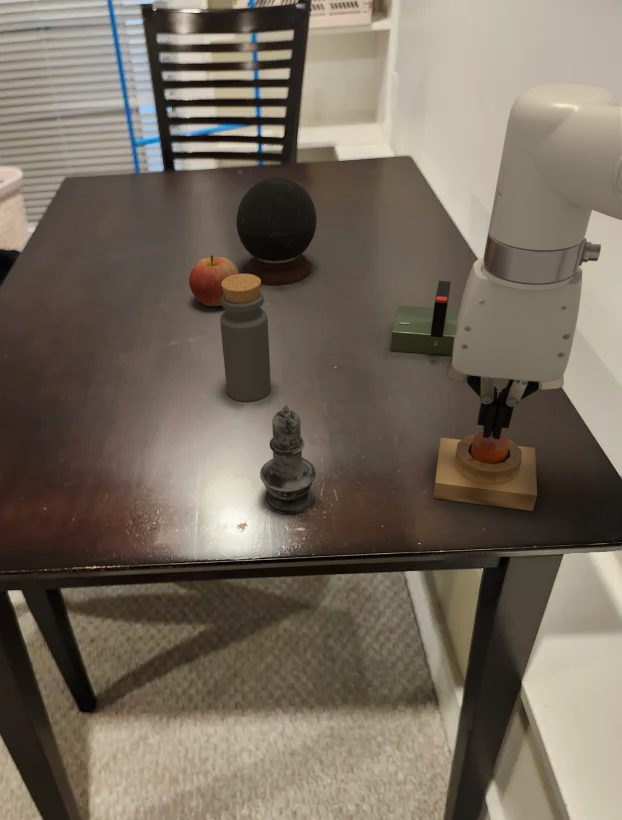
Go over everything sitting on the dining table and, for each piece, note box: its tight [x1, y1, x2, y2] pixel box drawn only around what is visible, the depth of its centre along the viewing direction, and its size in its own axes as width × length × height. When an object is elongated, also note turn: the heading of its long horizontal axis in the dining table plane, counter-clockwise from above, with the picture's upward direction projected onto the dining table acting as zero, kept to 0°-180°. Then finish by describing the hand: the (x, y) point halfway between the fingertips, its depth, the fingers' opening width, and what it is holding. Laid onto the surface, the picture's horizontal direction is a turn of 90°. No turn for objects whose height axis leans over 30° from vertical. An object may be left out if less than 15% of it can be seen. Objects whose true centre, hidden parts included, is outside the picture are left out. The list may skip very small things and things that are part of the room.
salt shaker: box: [259, 404, 317, 516], centre depth 70 cm, size 6×6×12 cm
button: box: [471, 431, 510, 464], centre depth 72 cm, size 4×4×2 cm
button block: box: [432, 432, 538, 512], centre depth 73 cm, size 10×8×4 cm
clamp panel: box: [390, 305, 460, 357], centre depth 95 cm, size 12×11×3 cm
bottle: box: [219, 273, 272, 402], centre depth 86 cm, size 6×6×15 cm
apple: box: [188, 254, 240, 307], centre depth 108 cm, size 8×8×8 cm
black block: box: [430, 280, 452, 337], centre depth 93 cm, size 6×2×5 cm, turn 164°
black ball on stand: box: [236, 177, 318, 286], centre depth 113 cm, size 13×13×15 cm
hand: (491, 430), depth 70 cm, fingers closed
